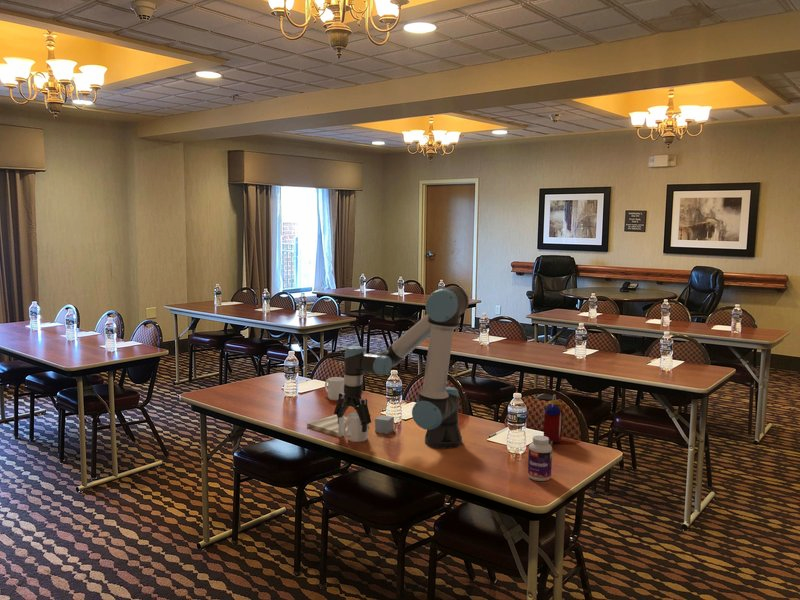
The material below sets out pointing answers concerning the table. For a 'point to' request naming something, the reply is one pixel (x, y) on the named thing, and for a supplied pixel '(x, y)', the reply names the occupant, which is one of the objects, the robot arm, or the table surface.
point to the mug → (353, 428)
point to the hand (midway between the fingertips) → (351, 435)
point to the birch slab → (327, 425)
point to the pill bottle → (540, 459)
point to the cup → (334, 387)
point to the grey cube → (384, 424)
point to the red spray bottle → (553, 421)
